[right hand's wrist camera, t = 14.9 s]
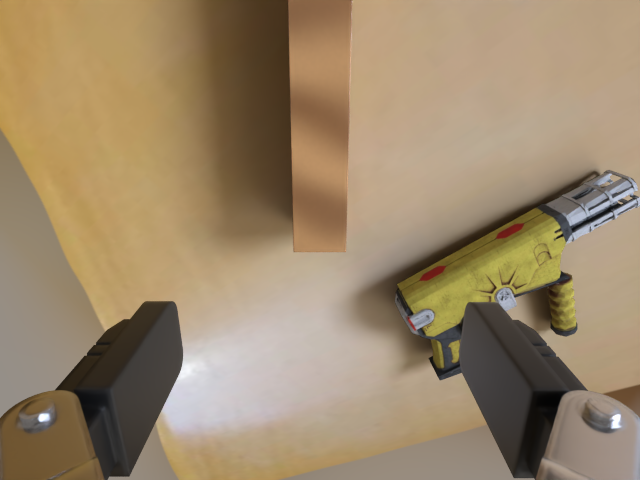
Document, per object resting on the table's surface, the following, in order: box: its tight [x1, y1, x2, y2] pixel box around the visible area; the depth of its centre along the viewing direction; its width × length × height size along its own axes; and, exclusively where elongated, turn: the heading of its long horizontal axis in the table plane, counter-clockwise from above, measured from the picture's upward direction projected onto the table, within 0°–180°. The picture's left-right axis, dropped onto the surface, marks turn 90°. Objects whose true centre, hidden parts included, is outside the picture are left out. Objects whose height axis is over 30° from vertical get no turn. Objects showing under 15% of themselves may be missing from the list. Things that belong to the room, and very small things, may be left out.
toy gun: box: [395, 170, 640, 380], centre depth 43 cm, size 5×24×15 cm
